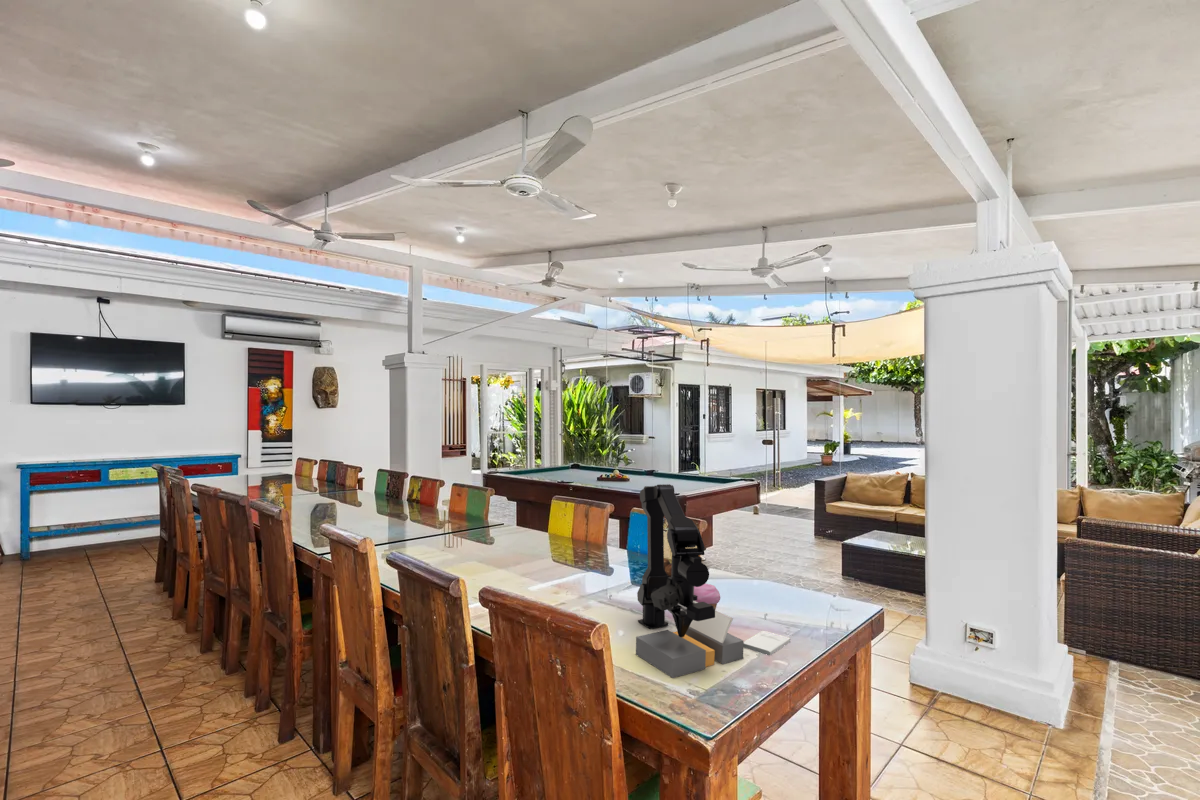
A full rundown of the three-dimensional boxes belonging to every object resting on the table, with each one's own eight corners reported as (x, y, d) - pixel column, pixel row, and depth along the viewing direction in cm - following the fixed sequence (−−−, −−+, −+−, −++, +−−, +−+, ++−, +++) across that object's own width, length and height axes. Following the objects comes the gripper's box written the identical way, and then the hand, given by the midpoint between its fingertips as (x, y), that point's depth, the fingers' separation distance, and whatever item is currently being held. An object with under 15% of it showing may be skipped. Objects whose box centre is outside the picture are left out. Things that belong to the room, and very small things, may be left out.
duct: (635, 654, 156) (636, 636, 156) (703, 637, 167) (703, 621, 167) (672, 678, 143) (672, 658, 143) (743, 658, 155) (743, 640, 154)
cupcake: (721, 623, 179) (722, 589, 179) (691, 622, 179) (692, 587, 179) (717, 612, 187) (718, 580, 187) (689, 611, 188) (689, 578, 188)
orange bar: (668, 633, 161) (679, 630, 163) (668, 646, 161) (678, 644, 163) (703, 653, 149) (714, 650, 151) (703, 667, 149) (714, 664, 151)
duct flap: (692, 599, 165) (693, 600, 165) (682, 622, 163) (683, 623, 164) (731, 617, 152) (733, 618, 153) (721, 642, 151) (722, 643, 151)
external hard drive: (740, 648, 162) (762, 635, 171) (770, 657, 157) (790, 643, 166) (741, 642, 162) (762, 629, 171) (770, 651, 157) (790, 637, 166)
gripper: (635, 569, 157) (633, 630, 157) (680, 589, 141) (679, 657, 142) (669, 564, 163) (668, 622, 163) (717, 582, 147) (716, 647, 147)
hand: (681, 636), depth 154 cm, fingers closed
